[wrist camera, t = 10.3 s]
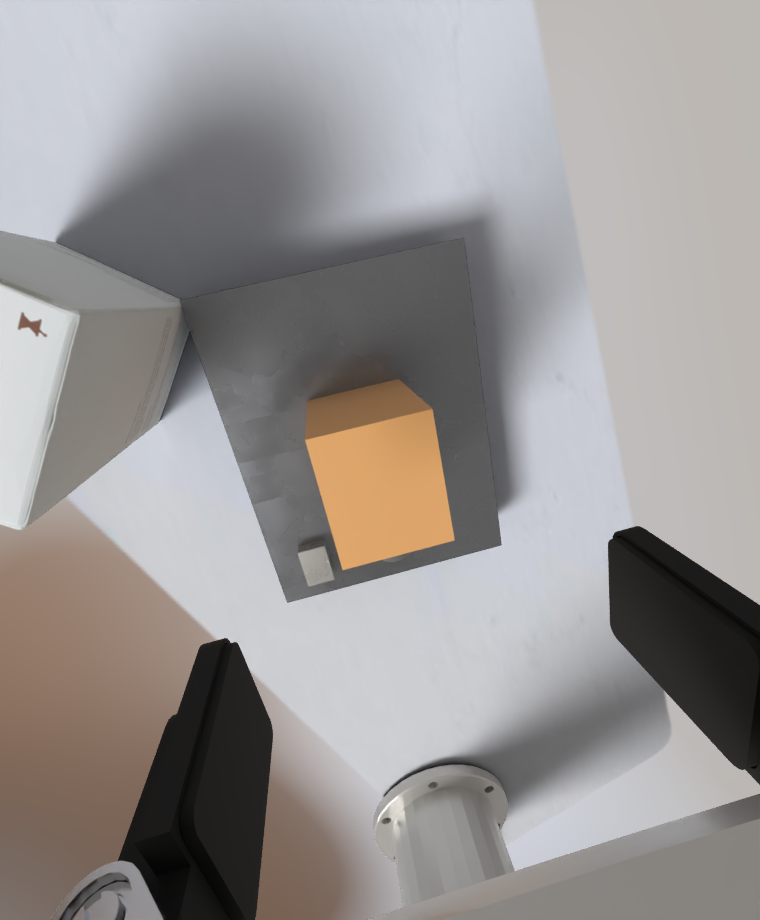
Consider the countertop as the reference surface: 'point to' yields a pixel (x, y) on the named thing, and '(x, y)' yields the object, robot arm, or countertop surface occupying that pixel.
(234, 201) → the countertop surface
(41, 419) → the supplement box
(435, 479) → the orange block
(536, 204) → the countertop surface
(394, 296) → the dark gray rectangular board
